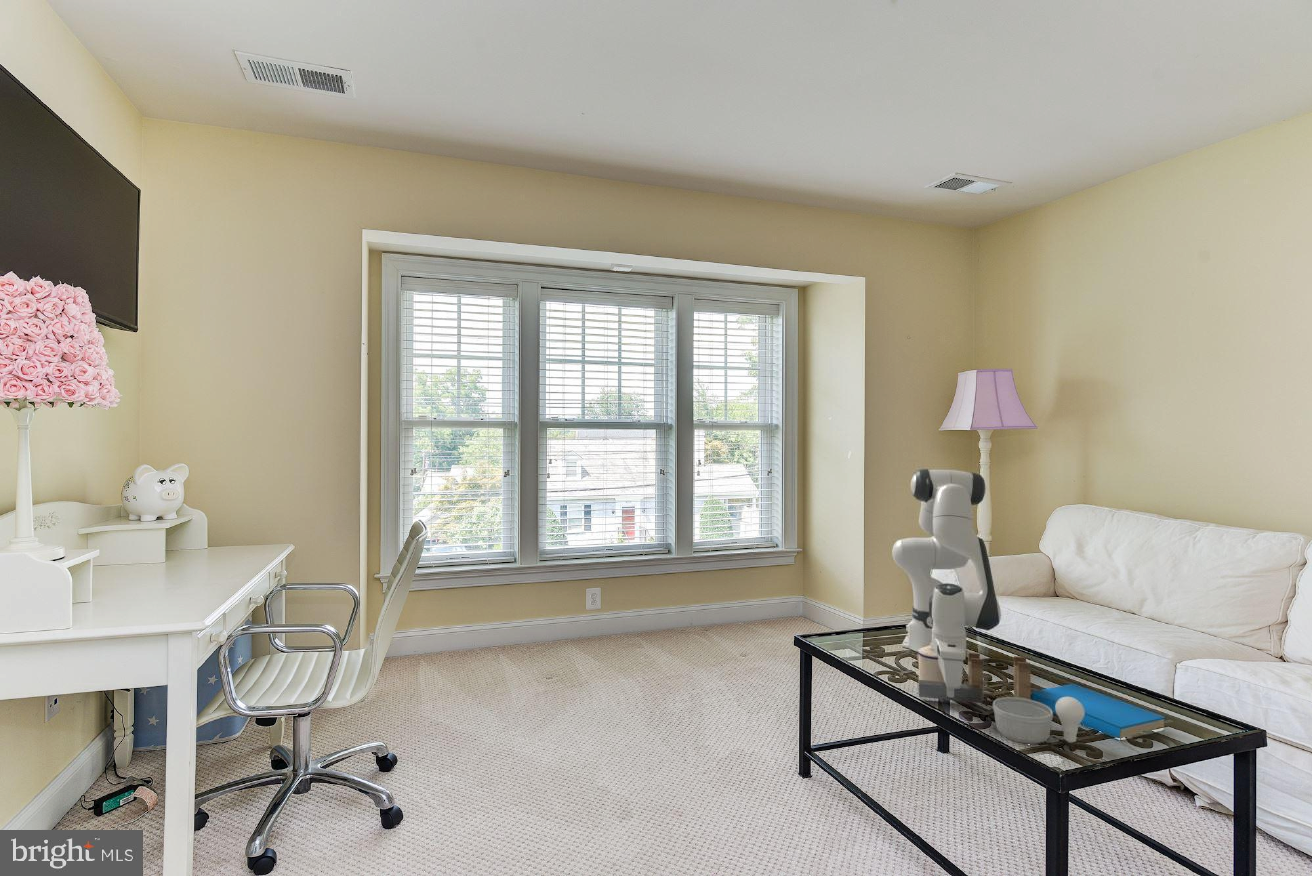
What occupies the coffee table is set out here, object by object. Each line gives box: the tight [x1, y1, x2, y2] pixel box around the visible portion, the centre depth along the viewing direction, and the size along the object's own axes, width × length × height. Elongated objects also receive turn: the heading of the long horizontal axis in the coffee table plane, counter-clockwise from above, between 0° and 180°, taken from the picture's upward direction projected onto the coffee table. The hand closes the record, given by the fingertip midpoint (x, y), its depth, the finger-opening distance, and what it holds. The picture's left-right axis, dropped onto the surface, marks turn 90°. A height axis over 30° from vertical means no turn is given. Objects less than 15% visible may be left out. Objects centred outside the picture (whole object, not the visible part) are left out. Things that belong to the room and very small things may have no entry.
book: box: [1031, 683, 1166, 738], centre depth 178 cm, size 17×4×25 cm
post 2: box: [1013, 655, 1032, 700], centre depth 190 cm, size 6×3×11 cm, turn 163°
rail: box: [917, 679, 983, 704], centre depth 188 cm, size 4×16×4 cm, turn 73°
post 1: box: [967, 652, 984, 701], centre depth 193 cm, size 6×3×11 cm, turn 163°
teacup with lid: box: [917, 643, 944, 682], centre depth 206 cm, size 12×9×12 cm
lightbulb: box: [1055, 697, 1085, 744], centre depth 163 cm, size 6×6×11 cm
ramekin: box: [992, 696, 1054, 745], centre depth 168 cm, size 13×13×7 cm
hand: (949, 692), depth 188 cm, fingers closed on rail, 4 cm apart
